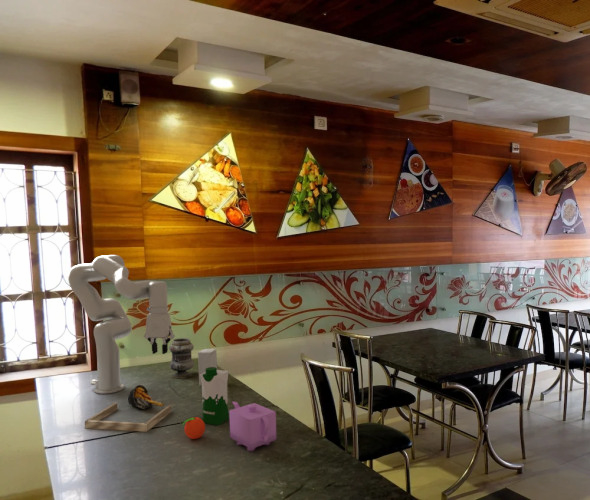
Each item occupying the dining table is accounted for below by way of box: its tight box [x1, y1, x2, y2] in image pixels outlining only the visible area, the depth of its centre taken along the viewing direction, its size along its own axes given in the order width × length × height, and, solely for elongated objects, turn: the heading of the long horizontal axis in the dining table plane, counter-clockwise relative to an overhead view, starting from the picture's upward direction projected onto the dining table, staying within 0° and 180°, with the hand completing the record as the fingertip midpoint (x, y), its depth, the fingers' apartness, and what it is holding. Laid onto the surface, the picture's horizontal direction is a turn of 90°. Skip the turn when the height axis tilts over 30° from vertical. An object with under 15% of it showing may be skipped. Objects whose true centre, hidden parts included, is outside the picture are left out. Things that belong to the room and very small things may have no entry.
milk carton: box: [200, 367, 230, 426], centre depth 176 cm, size 9×9×20 cm
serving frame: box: [84, 402, 172, 433], centre depth 180 cm, size 24×19×2 cm
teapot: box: [228, 401, 277, 452], centre depth 157 cm, size 20×10×12 cm, turn 41°
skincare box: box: [197, 348, 218, 387], centre depth 223 cm, size 8×7×16 cm
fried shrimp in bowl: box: [127, 384, 166, 410], centre depth 193 cm, size 9×11×18 cm
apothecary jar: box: [168, 337, 195, 379], centre depth 237 cm, size 12×12×18 cm
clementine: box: [181, 416, 206, 440], centre depth 161 cm, size 8×7×7 cm
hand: (159, 352), depth 204 cm, fingers open, 3 cm apart
